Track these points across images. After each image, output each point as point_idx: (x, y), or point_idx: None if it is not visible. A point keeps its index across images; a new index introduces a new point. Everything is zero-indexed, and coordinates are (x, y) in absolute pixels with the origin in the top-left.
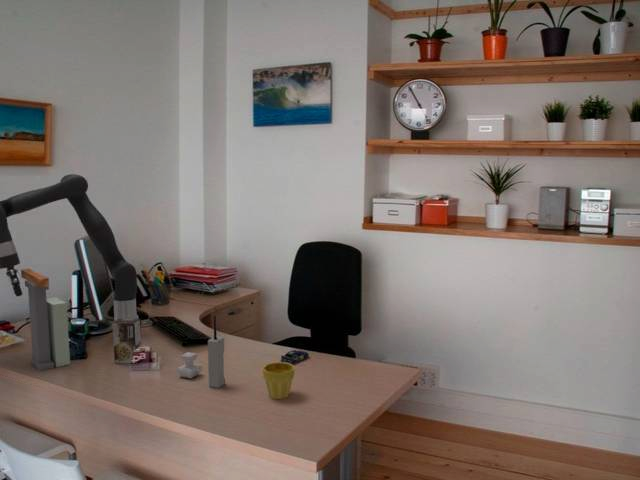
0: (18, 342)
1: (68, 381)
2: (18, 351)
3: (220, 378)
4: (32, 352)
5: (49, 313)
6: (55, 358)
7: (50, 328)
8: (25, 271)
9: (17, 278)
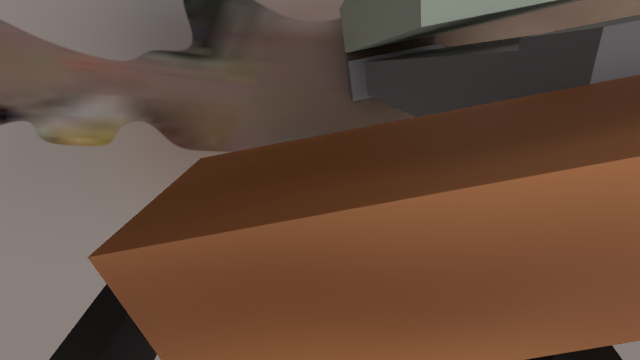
0: (136, 114)
1: (569, 22)
2: (233, 120)
3: None
4: (372, 96)
5: (515, 12)
6: (442, 33)
7: (461, 26)
8: (563, 343)
9: (609, 351)
